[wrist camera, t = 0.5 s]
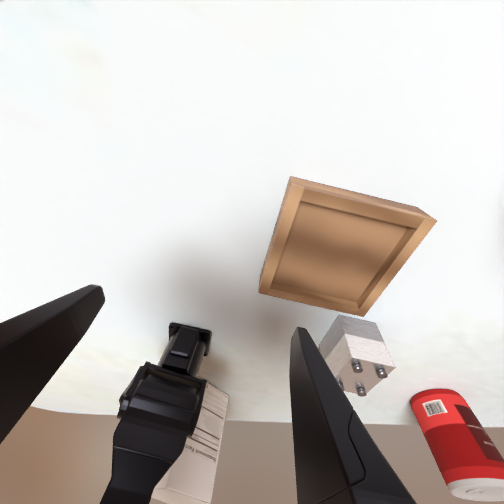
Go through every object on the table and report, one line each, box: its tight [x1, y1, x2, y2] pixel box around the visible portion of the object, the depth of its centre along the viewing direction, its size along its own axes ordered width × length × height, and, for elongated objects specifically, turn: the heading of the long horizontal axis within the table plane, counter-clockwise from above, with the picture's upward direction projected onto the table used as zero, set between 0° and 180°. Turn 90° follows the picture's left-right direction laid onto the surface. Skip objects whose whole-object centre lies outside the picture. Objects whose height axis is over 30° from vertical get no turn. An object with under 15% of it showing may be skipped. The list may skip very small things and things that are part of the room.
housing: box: [319, 315, 396, 396], centre depth 27 cm, size 7×5×7 cm
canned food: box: [411, 389, 504, 501], centre depth 32 cm, size 8×8×11 cm
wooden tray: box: [259, 176, 437, 317], centre depth 21 cm, size 12×12×3 cm
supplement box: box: [151, 377, 229, 504], centre depth 38 cm, size 9×9×15 cm
